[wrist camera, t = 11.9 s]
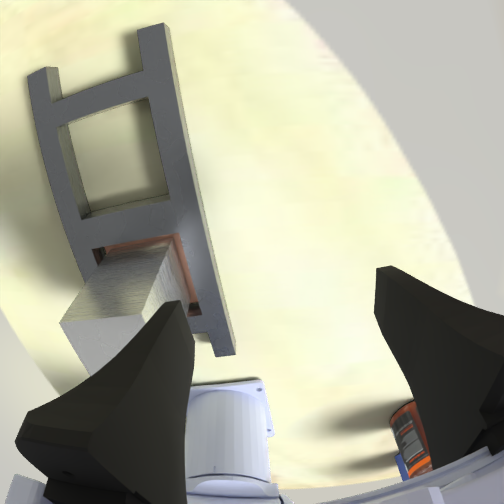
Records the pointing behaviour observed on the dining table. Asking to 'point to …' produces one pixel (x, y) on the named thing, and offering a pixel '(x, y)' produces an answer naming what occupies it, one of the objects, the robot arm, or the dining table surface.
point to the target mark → (180, 253)
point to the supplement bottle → (411, 440)
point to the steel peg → (123, 299)
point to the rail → (144, 211)
